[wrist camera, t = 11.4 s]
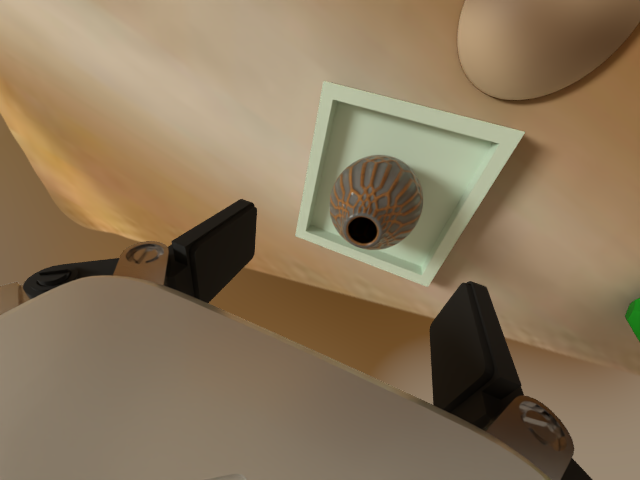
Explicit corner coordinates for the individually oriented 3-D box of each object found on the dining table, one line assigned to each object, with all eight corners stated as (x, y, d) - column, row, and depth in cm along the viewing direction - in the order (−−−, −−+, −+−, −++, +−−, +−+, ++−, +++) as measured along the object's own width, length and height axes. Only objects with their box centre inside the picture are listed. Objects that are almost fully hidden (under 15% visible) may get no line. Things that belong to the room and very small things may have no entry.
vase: (441, 178, 20) (453, 221, 13) (389, 237, 24) (376, 295, 17) (370, 131, 20) (343, 148, 13) (330, 197, 24) (292, 239, 17)
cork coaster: (511, -118, 13) (514, -125, 12) (719, -100, 11) (730, -108, 11) (432, 82, 18) (433, 82, 17) (569, 115, 16) (573, 115, 16)
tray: (331, 82, 20) (323, 80, 18) (514, 129, 17) (525, 132, 16) (303, 227, 27) (295, 236, 26) (427, 274, 25) (427, 287, 23)
